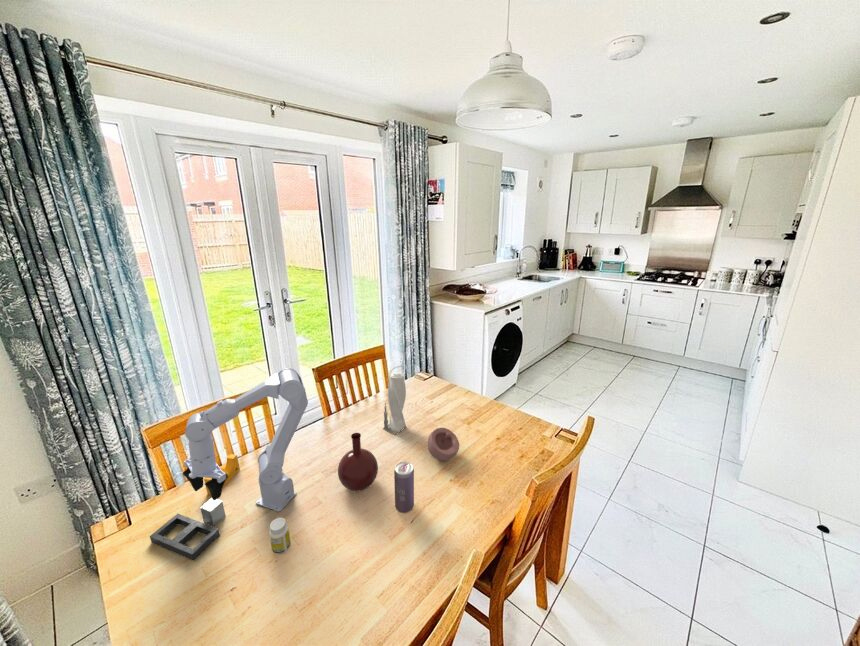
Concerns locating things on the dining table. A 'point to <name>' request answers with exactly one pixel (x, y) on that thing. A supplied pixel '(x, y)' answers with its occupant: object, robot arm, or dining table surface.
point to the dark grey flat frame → (185, 536)
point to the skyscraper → (395, 402)
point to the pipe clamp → (227, 469)
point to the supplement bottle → (279, 536)
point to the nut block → (212, 512)
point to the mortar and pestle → (443, 444)
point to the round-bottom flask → (357, 467)
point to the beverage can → (404, 487)
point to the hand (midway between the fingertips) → (207, 493)
